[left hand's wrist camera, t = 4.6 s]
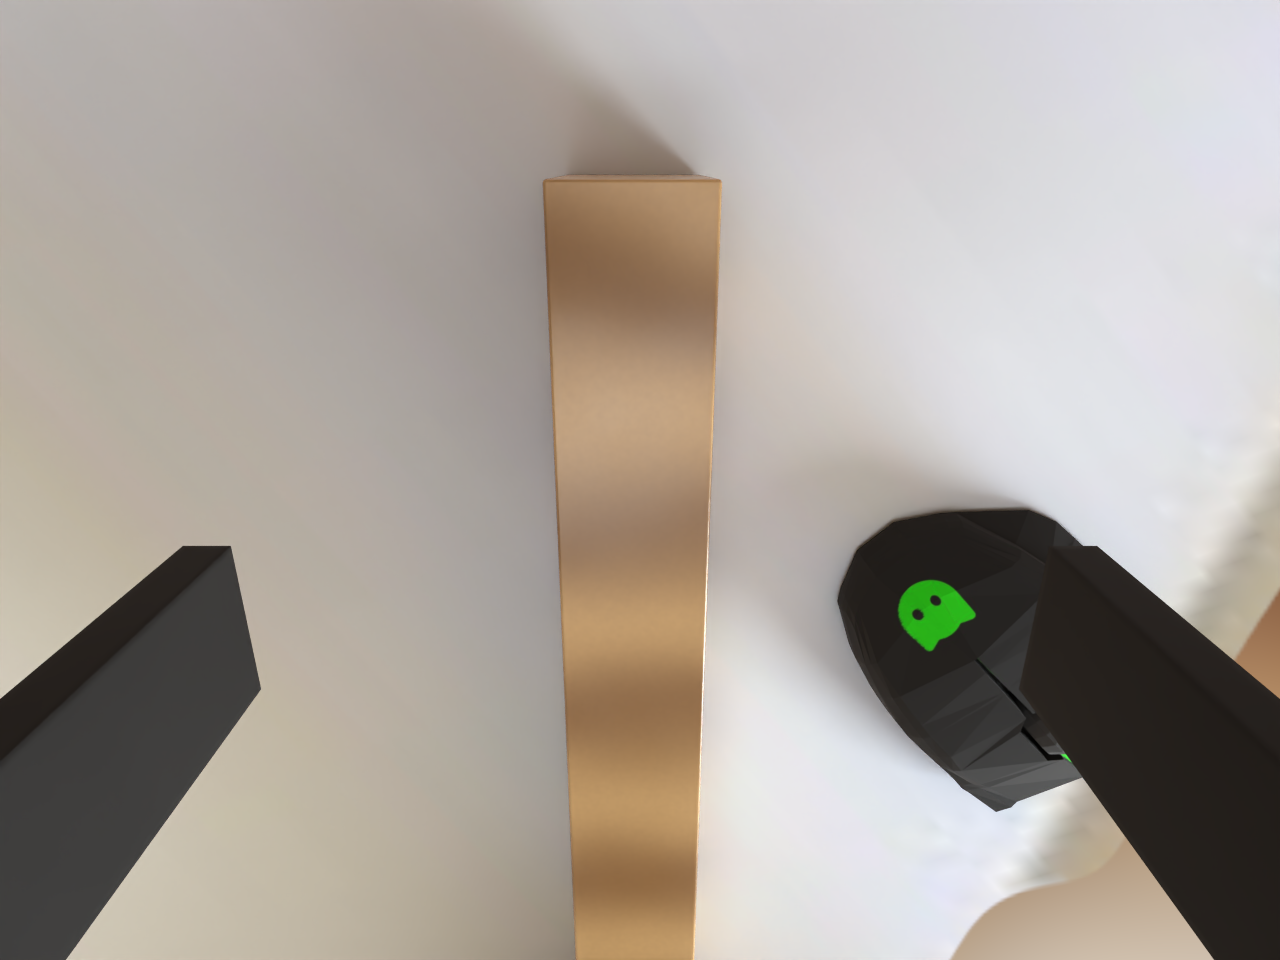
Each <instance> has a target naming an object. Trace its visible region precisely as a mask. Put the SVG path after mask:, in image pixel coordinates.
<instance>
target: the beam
mask: <svg viewBox="0 0 1280 960" xmlns="http://www.w3.org/2000/svg"><path fill="white" fill-rule="evenodd" d="M721 194H722V182H721V180H719V179H716V178H711V177H706V176H701V175H565V176H560V177H554V178H549V179H545V180H543V202H544V225H545V249H546V272H547V296H548V319H549V343H550V366H551V390H552V413H553V437H554V460H555V484H556V507H557V531H558V554H559V578H560V601H561V625H562V648H563V672H564V695H565V719H566V742H567V766H568V789H569V813H570V836H571V860H572V883H573V907H574V930H575V954H576V960H694V948H695V920H696V892H697V864H698V836H699V808H700V780H701V753H702V725H703V697H704V669H705V641H706V613H707V585H708V557H709V529H710V501H711V473H712V446H713V418H714V390H715V362H716V334H717V306H718V278H719V250H720V222H721Z"/></svg>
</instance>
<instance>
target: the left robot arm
mask: <svg viewBox="0 0 1280 960" xmlns="http://www.w3.org/2000/svg"><path fill="white" fill-rule="evenodd" d="M260 690H261V687H260V682H259V677H258V673H257V668H256V663H255V658H254V654H253V649H252V644H251V639H250V635H249V630H248V625H247V621H246V616H245V611H244V606H243V602H242V597H241V592H240V587H239V583H238V578H237V573H236V569H235V564H234V559H233V554H232V550H231V546H182V547H181V548H180V549H179V550H178V551H177V552H175V553H174V554H173V555H172V556H171V557H169V558H168V559H167V560H166V561H165V562H163V563H162V564H161V565H160V566H159V567H157V568H156V569H155V570H154V571H153V572H151V573H150V574H149V575H148V576H147V577H145V578H144V579H143V580H142V581H141V582H139V583H138V584H137V585H136V586H135V587H133V588H132V589H131V590H130V591H129V592H128V593H126V594H125V595H124V596H123V597H122V598H120V599H119V600H118V601H117V602H116V603H114V604H113V605H112V606H111V607H110V608H108V609H107V610H106V611H105V612H104V613H102V614H101V615H100V616H99V617H98V618H96V619H95V620H94V621H93V622H92V623H90V624H89V625H88V626H87V627H86V628H84V629H83V630H82V631H81V632H80V633H78V634H77V635H76V636H75V637H74V638H73V639H71V640H70V641H69V642H68V643H67V644H65V645H64V646H63V647H62V648H61V649H59V650H58V651H57V652H56V653H55V654H53V655H52V656H51V657H50V658H49V659H47V660H46V661H45V662H44V663H43V664H41V665H40V666H39V667H38V668H37V669H35V670H34V671H33V672H32V673H31V674H29V675H28V676H27V677H26V678H25V679H24V680H22V681H21V682H20V683H19V684H18V685H16V686H15V687H14V688H13V689H12V690H10V691H9V692H8V693H7V694H6V695H4V696H3V697H2V698H1V699H0V960H66V959H67V957H68V956H69V955H70V953H71V952H72V951H73V949H74V948H75V946H76V945H77V944H78V942H79V941H80V939H81V938H82V937H83V935H84V934H85V932H86V931H87V930H88V928H89V927H90V926H91V924H92V923H93V921H94V920H95V919H96V917H97V916H98V914H99V913H100V912H101V910H102V909H103V908H104V906H105V905H106V903H107V902H108V901H109V899H110V898H111V896H112V895H113V894H114V892H115V891H116V889H117V888H118V887H119V885H120V884H121V883H122V881H123V880H124V878H125V877H126V876H127V874H128V873H129V871H130V870H131V869H132V867H133V866H134V865H135V863H136V862H137V860H138V859H139V858H140V856H141V855H142V853H143V852H144V851H145V849H146V848H147V847H148V845H149V844H150V842H151V841H152V840H153V838H154V837H155V835H156V834H157V833H158V831H159V830H160V828H161V827H162V826H163V824H164V823H165V822H166V820H167V819H168V817H169V816H170V815H171V813H172V812H173V810H174V809H175V808H176V806H177V805H178V804H179V802H180V801H181V799H182V798H183V797H184V795H185V794H186V792H187V791H188V790H189V788H190V787H191V786H192V784H193V783H194V781H195V780H196V779H197V777H198V776H199V774H200V773H201V772H202V770H203V769H204V767H205V766H206V765H207V763H208V762H209V761H210V759H211V758H212V756H213V755H214V754H215V752H216V751H217V749H218V748H219V747H220V745H221V744H222V743H223V741H224V740H225V738H226V737H227V736H228V734H229V733H230V731H231V730H232V729H233V727H234V726H235V725H236V723H237V722H238V720H239V719H240V718H241V716H242V715H243V713H244V712H245V711H246V709H247V708H248V706H249V705H250V704H251V702H252V701H253V700H254V698H255V697H256V695H257V694H258V693H259V691H260ZM1019 690H1020V691H1021V693H1022V694H1023V695H1024V697H1025V698H1026V700H1027V701H1028V702H1029V704H1030V705H1031V706H1032V708H1033V709H1034V711H1035V712H1036V713H1037V715H1038V716H1039V718H1040V719H1041V720H1042V722H1043V723H1044V725H1045V726H1046V727H1047V729H1048V730H1049V731H1050V733H1051V734H1052V736H1053V737H1054V738H1055V740H1056V741H1057V743H1058V744H1059V745H1060V747H1061V748H1062V749H1063V751H1064V752H1065V754H1066V755H1067V756H1068V758H1069V759H1070V761H1071V762H1072V763H1073V765H1074V766H1075V767H1076V769H1077V770H1078V772H1079V773H1080V774H1081V776H1082V777H1083V779H1084V780H1085V781H1086V783H1087V784H1088V786H1089V787H1090V788H1091V790H1092V791H1093V792H1094V794H1095V795H1096V797H1097V798H1098V799H1099V801H1100V802H1101V804H1102V805H1103V806H1104V808H1105V809H1106V810H1107V812H1108V813H1109V815H1110V816H1111V817H1112V819H1113V820H1114V822H1115V823H1116V824H1117V826H1118V827H1119V828H1120V830H1121V831H1122V833H1123V834H1124V835H1125V837H1126V838H1127V840H1128V841H1129V842H1130V844H1131V845H1132V846H1133V848H1134V849H1135V851H1136V852H1137V853H1138V855H1139V856H1140V857H1141V859H1142V860H1143V862H1144V863H1145V865H1146V866H1147V867H1148V869H1149V870H1150V871H1151V873H1152V874H1153V876H1154V877H1155V878H1156V880H1157V881H1158V883H1159V884H1160V885H1161V887H1162V888H1163V889H1164V891H1165V892H1166V894H1167V895H1168V896H1169V898H1170V899H1171V901H1172V902H1173V903H1174V905H1175V906H1176V907H1177V909H1178V910H1179V912H1180V913H1181V914H1182V916H1183V917H1184V919H1185V920H1186V921H1187V923H1188V924H1189V926H1190V927H1191V928H1192V930H1193V931H1194V932H1195V934H1196V935H1197V937H1198V938H1199V939H1200V941H1201V942H1202V944H1203V945H1204V946H1205V948H1206V949H1207V950H1208V952H1209V953H1210V955H1211V956H1212V957H1213V959H1214V960H1280V699H1279V698H1278V697H1277V696H1276V695H1274V694H1273V693H1272V692H1271V691H1270V690H1268V689H1267V688H1266V687H1265V686H1264V685H1262V684H1261V683H1260V682H1259V681H1258V680H1256V679H1255V678H1254V677H1253V676H1252V675H1251V674H1249V673H1248V672H1247V671H1246V670H1244V669H1243V668H1242V667H1241V666H1240V665H1238V664H1237V663H1236V662H1235V661H1234V660H1233V659H1231V658H1230V657H1229V656H1228V655H1227V654H1225V653H1224V652H1223V651H1222V650H1221V649H1219V648H1218V647H1217V646H1216V645H1215V644H1213V643H1212V642H1211V641H1210V640H1209V639H1207V638H1206V637H1205V636H1204V635H1203V634H1202V633H1200V632H1199V631H1198V630H1197V629H1196V628H1194V627H1193V626H1192V625H1191V624H1190V623H1188V622H1187V621H1186V620H1185V619H1184V618H1182V617H1181V616H1180V615H1179V614H1178V613H1176V612H1175V611H1174V610H1173V609H1172V608H1170V607H1169V606H1168V605H1167V604H1166V603H1164V602H1163V601H1162V600H1161V599H1160V598H1158V597H1157V596H1156V595H1155V594H1154V593H1152V592H1151V591H1150V590H1149V589H1148V588H1147V587H1145V586H1144V585H1143V584H1142V583H1141V582H1139V581H1138V580H1137V579H1136V578H1135V577H1133V576H1132V575H1131V574H1130V573H1129V572H1127V571H1126V570H1125V569H1124V568H1123V567H1121V566H1120V565H1119V564H1118V563H1117V562H1115V561H1114V560H1113V559H1112V558H1111V557H1109V556H1108V555H1107V554H1106V553H1105V552H1103V551H1102V550H1101V549H1100V548H1099V547H1098V546H1049V550H1048V554H1047V559H1046V564H1045V569H1044V573H1043V578H1042V583H1041V587H1040V592H1039V597H1038V602H1037V606H1036V611H1035V616H1034V621H1033V625H1032V630H1031V635H1030V639H1029V644H1028V649H1027V654H1026V658H1025V663H1024V668H1023V673H1022V677H1021V682H1020V687H1019Z"/></svg>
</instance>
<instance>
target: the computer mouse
mask: <svg viewBox="0 0 1280 960" xmlns="http://www.w3.org/2000/svg"><path fill="white" fill-rule="evenodd" d="M1049 546H1082V545H1081V544H1080V543H1079V542H1078V541H1077V540H1076V539H1075V538H1074V537H1073V536H1072V535H1070V534H1069V533H1068V532H1067V531H1066V530H1065V529H1064V528H1063V527H1062V526H1060V525H1059V524H1058V523H1057V522H1055V521H1053V520H1051V519H1048V518H1046V517H1043V516H1041V515H1039V514H1036V513H1034V512H1032V511H1029V510H1025V511H989V512H954V513H940V514H934V515H929V516H924V517H919V518H914V519H909V520H904V521H899V522H894V523H892V524H891V525H890V526H888V527H887V528H886V529H885V530H883V531H882V532H881V533H879V534H878V535H877V536H875V537H874V538H873V539H872V540H870V541H869V542H868V543H866V544H865V545H864V546H863V547H861V548H860V549H859V550H857V553H856V555H855V557H854V559H853V562H852V564H851V566H850V568H849V571H848V573H847V575H846V577H845V580H844V582H843V584H842V586H841V589H840V593H839V597H838V605H839V608H840V612H841V616H842V619H843V623H844V627H845V630H846V634H847V638H848V641H849V644H850V647H851V649H852V651H853V653H854V656H855V658H856V660H857V662H858V663H859V665H860V667H861V669H862V671H863V673H864V675H865V676H866V678H867V680H868V682H869V684H870V686H871V687H872V689H873V690H874V692H875V693H876V695H877V696H878V698H879V699H880V701H881V702H882V704H883V705H884V706H885V708H886V709H887V710H888V712H889V713H890V714H891V716H892V717H893V718H894V719H895V721H896V722H897V723H898V724H899V726H900V727H901V728H902V729H903V731H904V732H905V733H906V734H907V736H908V737H909V738H910V739H911V740H912V741H914V742H915V743H916V744H917V745H918V746H919V747H920V748H921V749H922V750H923V751H924V752H925V753H926V754H927V755H928V756H929V757H930V758H932V759H933V760H934V761H935V762H936V763H937V764H938V765H939V766H940V767H942V768H943V769H944V770H945V771H946V772H947V773H948V774H949V775H950V776H951V777H952V778H953V779H954V780H955V781H956V782H957V783H958V784H959V785H960V787H961V788H962V789H964V790H966V791H968V792H969V793H970V794H972V795H973V796H975V797H976V798H977V799H979V800H980V801H982V802H983V803H984V804H986V805H987V806H989V807H990V808H991V809H993V810H994V811H996V812H997V811H1000V810H1004V809H1007V808H1010V807H1012V806H1013V805H1014V804H1015V803H1016V802H1017V801H1020V800H1023V799H1025V798H1028V797H1031V796H1034V795H1036V794H1039V793H1042V792H1044V791H1047V790H1050V789H1052V788H1055V787H1058V786H1060V785H1063V784H1066V783H1068V782H1071V781H1074V780H1076V779H1079V778H1082V776H1081V774H1080V773H1079V772H1078V770H1077V769H1076V767H1075V766H1074V765H1073V763H1072V762H1071V761H1070V759H1069V758H1068V756H1067V755H1066V754H1065V752H1064V751H1063V749H1062V748H1061V747H1060V745H1059V744H1058V743H1057V741H1056V740H1055V738H1054V737H1053V736H1052V734H1051V733H1050V731H1049V730H1048V729H1047V727H1046V726H1045V725H1044V723H1043V722H1042V720H1041V719H1040V718H1039V716H1038V715H1037V713H1036V712H1035V711H1034V709H1033V708H1032V706H1031V705H1030V704H1029V702H1028V701H1027V700H1026V698H1025V697H1024V695H1023V694H1022V693H1021V691H1020V690H1019V687H1020V682H1021V677H1022V673H1023V668H1024V663H1025V658H1026V654H1027V649H1028V644H1029V639H1030V635H1031V630H1032V625H1033V621H1034V616H1035V611H1036V606H1037V602H1038V597H1039V592H1040V587H1041V583H1042V578H1043V573H1044V569H1045V564H1046V559H1047V554H1048V550H1049Z"/></svg>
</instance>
